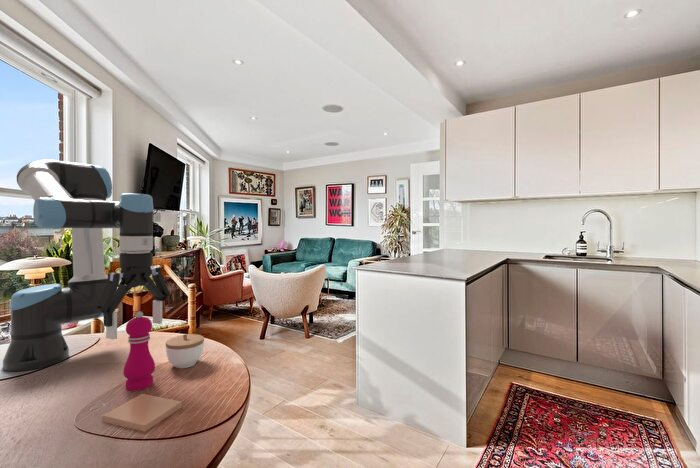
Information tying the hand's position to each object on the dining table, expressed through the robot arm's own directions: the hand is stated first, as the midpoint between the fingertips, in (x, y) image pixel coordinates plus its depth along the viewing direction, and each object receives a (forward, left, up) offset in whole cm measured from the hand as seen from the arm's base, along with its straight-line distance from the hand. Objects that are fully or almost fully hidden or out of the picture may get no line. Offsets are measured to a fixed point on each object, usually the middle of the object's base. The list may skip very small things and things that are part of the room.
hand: (136, 330), depth 91 cm
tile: (+8, -10, -14) cm, 19 cm away
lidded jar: (+2, +15, -15) cm, 21 cm away
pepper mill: (+1, 0, -15) cm, 15 cm away
